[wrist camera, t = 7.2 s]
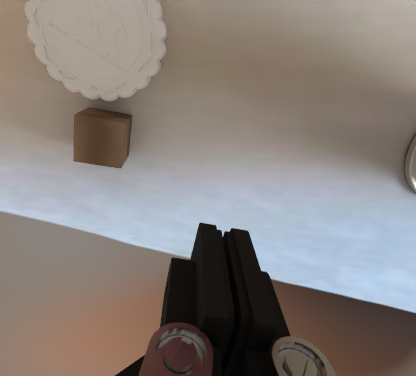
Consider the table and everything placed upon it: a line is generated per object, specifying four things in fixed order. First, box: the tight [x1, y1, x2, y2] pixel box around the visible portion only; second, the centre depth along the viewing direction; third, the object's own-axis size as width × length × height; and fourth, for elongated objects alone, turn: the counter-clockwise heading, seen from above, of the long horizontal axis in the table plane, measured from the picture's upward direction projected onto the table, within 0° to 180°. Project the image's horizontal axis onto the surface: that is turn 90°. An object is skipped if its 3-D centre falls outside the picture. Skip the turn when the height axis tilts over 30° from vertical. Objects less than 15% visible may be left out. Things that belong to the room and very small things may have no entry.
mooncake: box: [24, 0, 167, 102], centre depth 27 cm, size 12×12×4 cm
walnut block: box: [74, 107, 132, 168], centre depth 30 cm, size 4×4×4 cm
